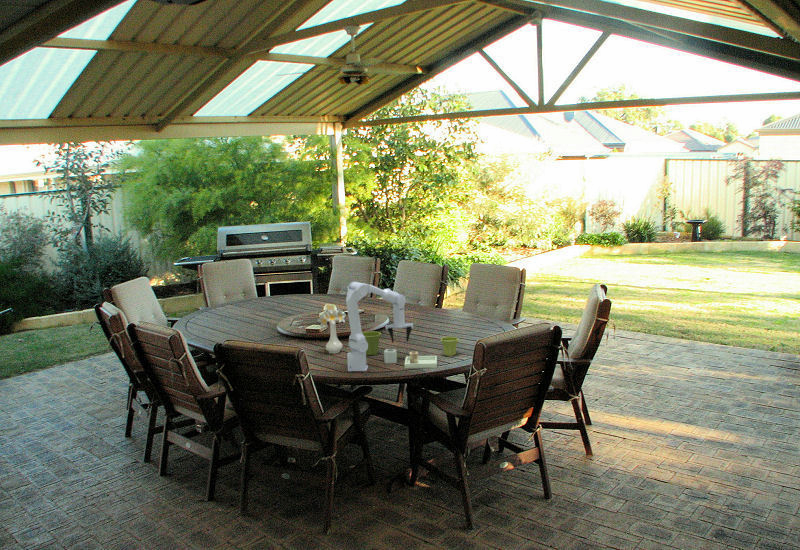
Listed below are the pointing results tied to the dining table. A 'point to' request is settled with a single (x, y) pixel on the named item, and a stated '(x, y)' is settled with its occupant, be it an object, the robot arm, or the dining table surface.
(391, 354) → the large block
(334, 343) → the flower vase
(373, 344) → the plant pot
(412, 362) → the small block
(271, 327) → the dining table surface
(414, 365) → the tray
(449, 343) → the plant pot
